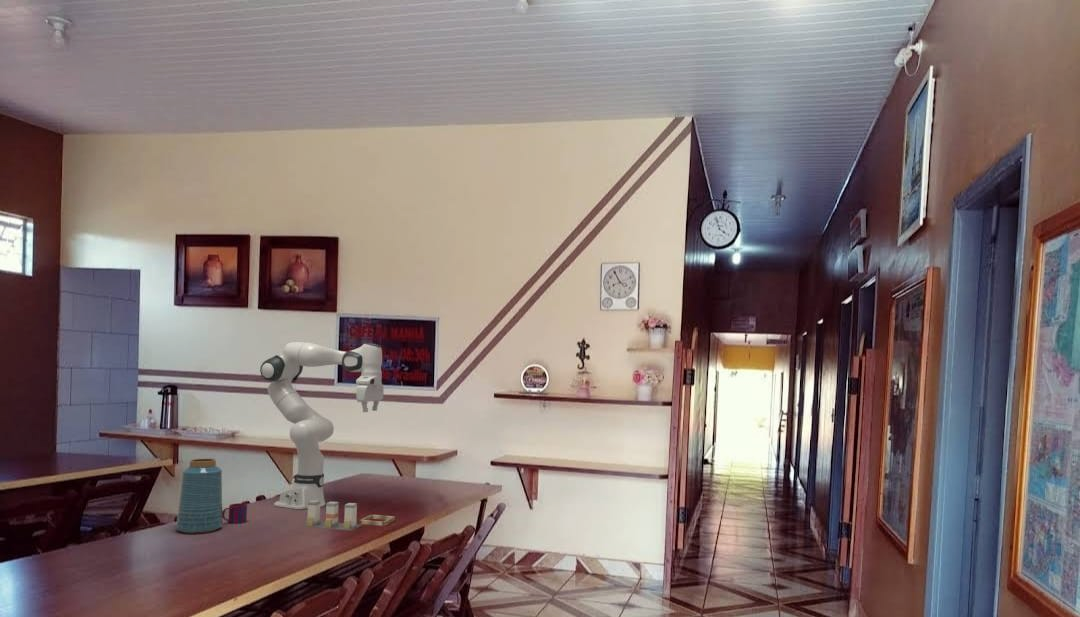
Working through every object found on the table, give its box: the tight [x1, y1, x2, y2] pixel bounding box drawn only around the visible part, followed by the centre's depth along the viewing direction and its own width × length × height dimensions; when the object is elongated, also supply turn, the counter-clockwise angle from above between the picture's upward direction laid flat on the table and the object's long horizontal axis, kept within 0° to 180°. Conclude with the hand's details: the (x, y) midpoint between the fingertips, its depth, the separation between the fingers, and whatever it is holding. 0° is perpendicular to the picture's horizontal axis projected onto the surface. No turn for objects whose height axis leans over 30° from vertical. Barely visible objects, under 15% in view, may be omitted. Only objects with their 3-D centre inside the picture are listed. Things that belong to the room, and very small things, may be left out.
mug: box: [222, 502, 248, 525], centre depth 295 cm, size 7×10×7 cm
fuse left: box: [307, 500, 321, 525], centre depth 290 cm, size 3×3×9 cm
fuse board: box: [299, 516, 363, 532], centre depth 288 cm, size 22×10×4 cm, turn 77°
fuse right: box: [343, 502, 358, 528], centre depth 287 cm, size 3×3×9 cm
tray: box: [358, 514, 397, 527], centre depth 297 cm, size 11×11×2 cm
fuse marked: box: [325, 501, 339, 527], centre depth 289 cm, size 3×3×9 cm
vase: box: [175, 457, 223, 535], centre depth 283 cm, size 16×16×27 cm
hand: (370, 411), depth 321 cm, fingers open, 8 cm apart
